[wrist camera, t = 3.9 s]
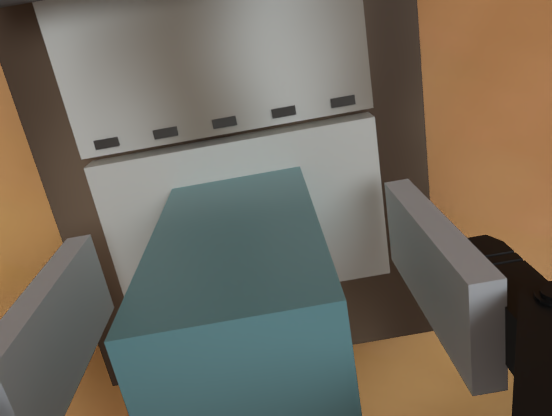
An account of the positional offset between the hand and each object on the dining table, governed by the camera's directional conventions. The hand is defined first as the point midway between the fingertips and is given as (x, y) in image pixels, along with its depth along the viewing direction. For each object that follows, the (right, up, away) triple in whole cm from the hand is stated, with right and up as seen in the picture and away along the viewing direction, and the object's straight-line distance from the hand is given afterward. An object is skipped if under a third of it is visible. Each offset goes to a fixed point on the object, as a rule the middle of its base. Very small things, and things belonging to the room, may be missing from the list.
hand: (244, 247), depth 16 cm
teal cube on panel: (0, +1, +3) cm, 3 cm away
